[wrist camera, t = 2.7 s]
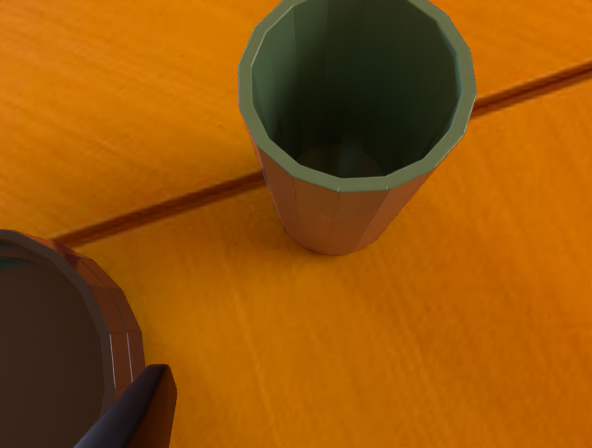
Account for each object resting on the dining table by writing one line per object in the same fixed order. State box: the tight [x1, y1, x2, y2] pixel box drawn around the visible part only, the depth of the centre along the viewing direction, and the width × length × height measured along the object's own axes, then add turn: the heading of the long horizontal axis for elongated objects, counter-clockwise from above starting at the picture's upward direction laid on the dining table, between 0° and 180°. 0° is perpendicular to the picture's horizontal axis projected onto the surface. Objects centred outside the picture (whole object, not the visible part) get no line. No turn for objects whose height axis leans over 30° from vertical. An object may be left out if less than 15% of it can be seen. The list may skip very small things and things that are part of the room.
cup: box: [238, 0, 477, 255], centre depth 17 cm, size 7×7×12 cm
